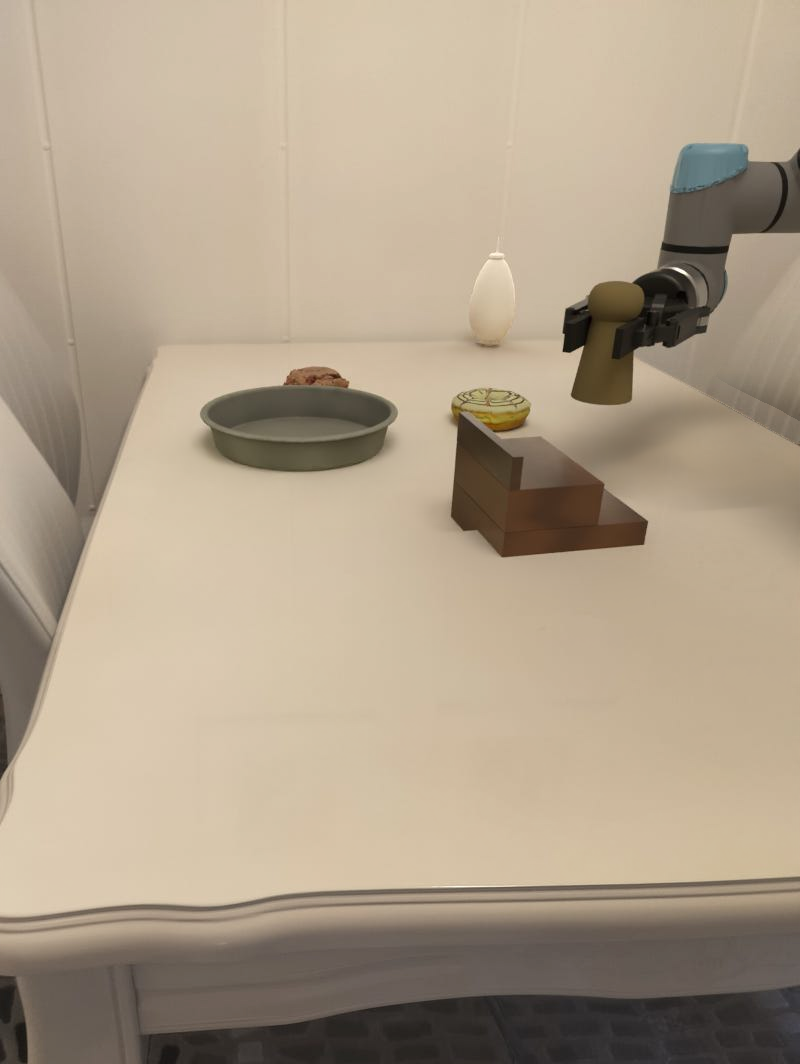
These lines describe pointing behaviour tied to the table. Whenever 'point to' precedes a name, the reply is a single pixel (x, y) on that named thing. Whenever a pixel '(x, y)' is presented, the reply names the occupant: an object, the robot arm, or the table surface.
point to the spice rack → (534, 497)
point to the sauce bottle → (492, 301)
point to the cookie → (316, 377)
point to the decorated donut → (492, 407)
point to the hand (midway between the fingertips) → (592, 340)
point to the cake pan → (299, 426)
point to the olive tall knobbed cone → (607, 345)
